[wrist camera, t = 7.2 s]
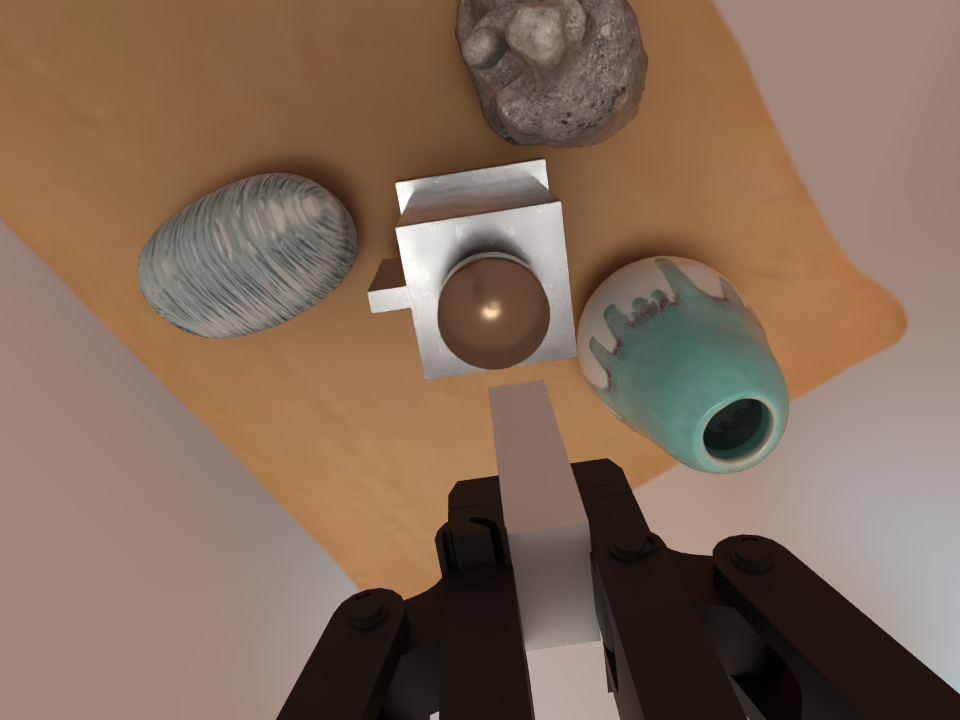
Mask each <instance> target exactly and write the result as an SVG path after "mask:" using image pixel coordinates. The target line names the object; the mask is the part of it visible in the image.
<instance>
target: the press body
mask: <svg viewBox="0 0 960 720" xmlns="http://www.w3.org/2000/svg"><path fill="white" fill-rule="evenodd" d="M395 185H396V190H397V195H398V200H399V205H400V211H401V217H400V219H399V221H398V223H397V226H396V228H395V229H396V234H397V239H398V244H399V249H400V254H401V257H398V258H391V259H385V260H382V262H381V264H380V266H379V268H378V271H377V273H376V275H375V277H374V279H373V281H372V284H371V286H370V288H369V290H368V292H367V293H368V297H369V302H370V306H371V311H372V313H378V312H384V311H391V310H397V309H403V308H410V307H411V310H412V315H413V320H414V325H415V330H416V336H417V341H418V346H419V351H420V356H421V361H422V366H423V371H424V376H425V380H428V379H435V378H441V377H448V376H454V375H461V374H467V373H474V372H480V371H487V370H491V369H481V368H477V367H474V366H471V365H469V364H467V363H465V362H463V361H462V360H460V359H459V358H457V357H456V356H455V355H454V354H453V353H452V352H451V351H450V350H449V349H448V347H447V346H446V345H445V343H444V341H443V339H442V337H441V334H440V332H439V328H438V322H437V310H438V299H439V293H440V289H441V286H442V284H443V282H444V280H445V278H446V277H447V275H448V274H449V272H450V271H451V270H452V269H453V268H454V267H455V266H456V265H457V264H458V263H460V262H461V261H463V260H464V259H466V258H468V257H470V256H473V255H476V254H479V253H484V252H500V253H506V254H509V255H512V256H514V257H517V258H519V259H520V260H522V261H523V262H525V263H526V264H527V265H528V266H530V268H531V269H532V270H533V271H534V272H535V274H536V275H537V276H538V278H539V280H540V282H541V284H542V286H543V288H544V291H545V293H546V295H547V298H548V301H549V306H550V323H549V328H548V331H547V334H546V336H545V338H544V340H543V342H542V344H541V345H540V346H539V348H538V349H537V350H536V351H535V352H534V353H533V354H532V355H531V356H530V357H529V358H527V359H526V360H524V361H523V362H521V363H519V364H517V365H514V366H520V365H526V364H533V363H539V362H546V361H552V360H559V359H565V358H572V357H577V350H576V340H575V331H574V321H573V312H572V302H571V293H570V284H569V274H568V265H567V255H566V246H565V236H564V227H563V218H562V208H561V201H560V200H559V199H557V198H556V197H555V196H554V195H553V194H552V193H551V192H550V191H549V190H548V181H547V172H546V163H545V159H544V158H540V159H534V160H528V161H522V162H515V163H509V164H503V165H497V166H490V167H484V168H478V169H472V170H465V171H459V172H453V173H447V174H440V175H434V176H428V177H422V178H415V179H409V180H403V181H397V182H396V183H395ZM511 367H513V366H511Z"/></svg>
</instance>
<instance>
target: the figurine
mask: <svg viewBox="0 0 960 720" xmlns="http://www.w3.org/2000/svg"><path fill="white" fill-rule="evenodd" d="M455 36H456V39H457V41H458V43H459V46H460V49H461V53H462V56H463V58H464V62H465V64H466V66H467V68H468V71H469V73H470V75H471V77H472V79H473V81H474V84H475V86H476V88H477V92H478V95H479V97H480V101H481V108H482V112H483V115H484V118H485V119H486V121H487V122H488V124H489V125H490V127H491V128H492V129H493V130H494V131H495V132H496V133H497V134H498V135H500V136H501V137H502V138H504V139H505V140H507V141H508V142H510V143H511V144H513V145H517V146H519V145H538V144H546V145H548V146H549V147H554V148H557V147H583V146H589V145H595V144H598V143H601V142H603V141H605V140H606V139H608V138H609V137H611V136H612V135H614V134H615V133H616V132H618V131H619V130H621V129H622V128H623V127H624V126H626V125H627V124H628V123H629V122H630V121H632V120H633V119H634V117H635V116H636V114H637V112H638V107H639V103H640V100H641V96H642V91H643V90H644V82H645V77H646V71H647V65H648V57H647V54H646V53H645V51H644V50H643V43H642V38H641V34H640V30H639V24H638V20H637V16H636V14H635V12H634V10H633V9H632V7H631V6H630V4H629V3H628V1H627V0H460V3H459V6H458V17H457V26H456V29H455Z"/></svg>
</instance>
